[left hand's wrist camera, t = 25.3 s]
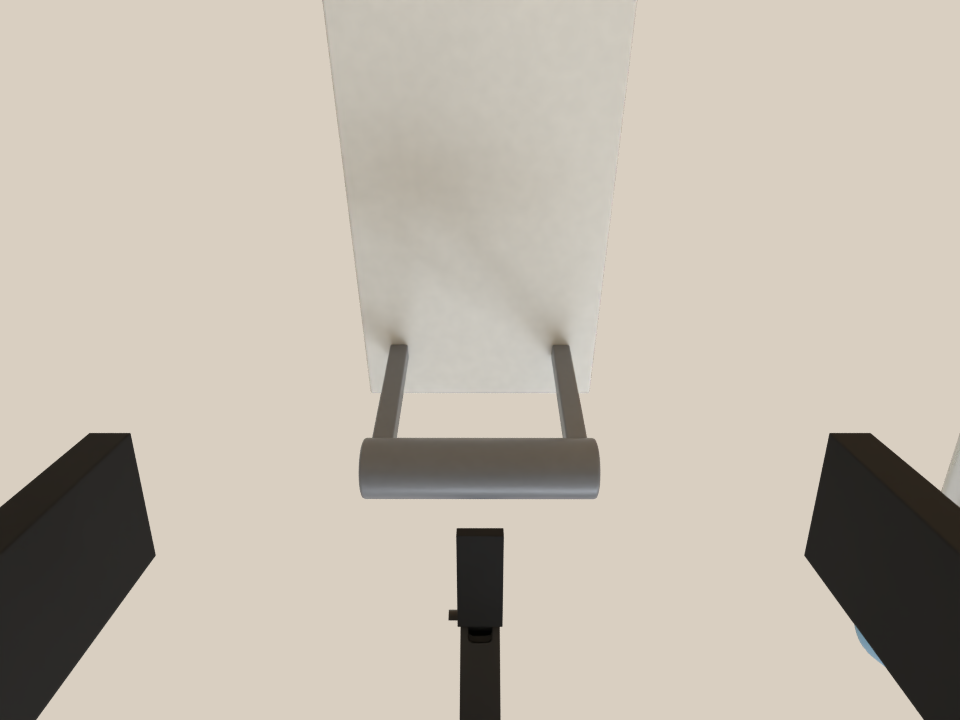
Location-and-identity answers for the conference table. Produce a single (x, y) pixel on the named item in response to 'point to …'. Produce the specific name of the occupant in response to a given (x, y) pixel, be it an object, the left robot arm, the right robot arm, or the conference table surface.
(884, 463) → the left robot arm
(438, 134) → the lid
